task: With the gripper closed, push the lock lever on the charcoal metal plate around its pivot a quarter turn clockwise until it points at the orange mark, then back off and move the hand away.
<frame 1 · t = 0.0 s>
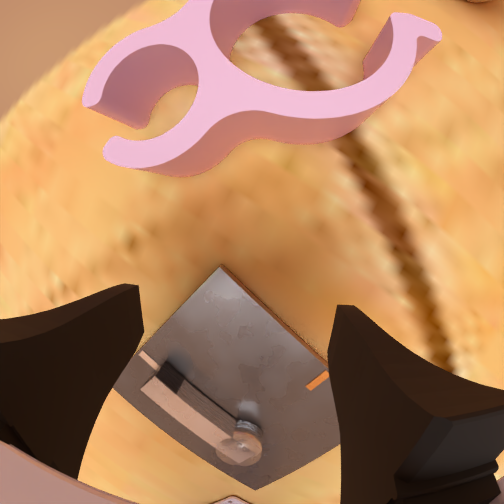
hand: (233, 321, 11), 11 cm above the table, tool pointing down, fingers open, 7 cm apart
lock lever: (206, 419, 21), point 2 cm above the table, hinge at 0.0°
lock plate: (241, 402, 23), on the table
clip: (264, 79, 19), on the table
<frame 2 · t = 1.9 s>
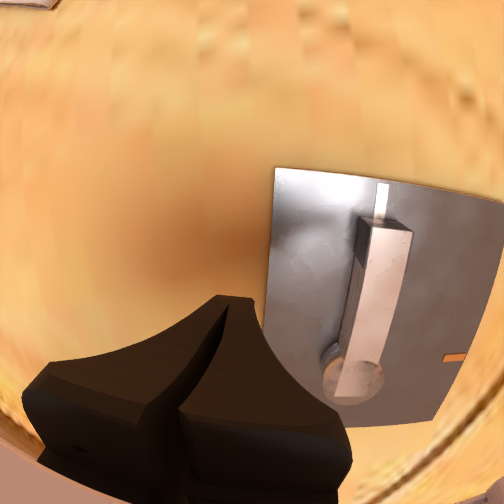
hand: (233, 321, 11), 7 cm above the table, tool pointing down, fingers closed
lock lever: (365, 322, 15), point 2 cm above the table, hinge at 0.0°
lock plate: (381, 326, 18), on the table
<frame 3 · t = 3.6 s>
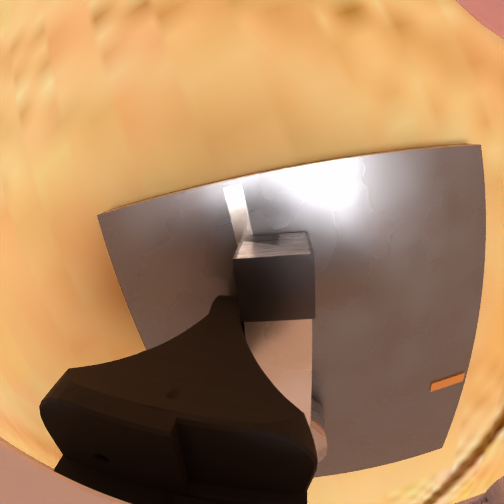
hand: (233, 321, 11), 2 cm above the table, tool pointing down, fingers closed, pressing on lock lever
lock lever: (283, 380, 11), point 2 cm above the table, hinge at -6.8°, touching gripper
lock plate: (322, 367, 13), on the table
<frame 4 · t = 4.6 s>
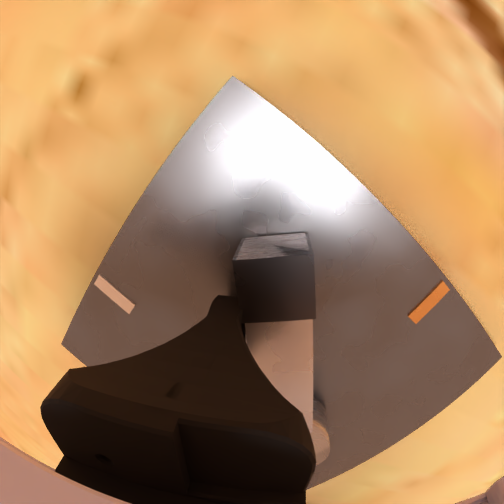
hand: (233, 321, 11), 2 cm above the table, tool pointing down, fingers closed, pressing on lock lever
lock lever: (285, 380, 11), point 2 cm above the table, hinge at -44.1°, touching gripper
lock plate: (287, 360, 13), on the table
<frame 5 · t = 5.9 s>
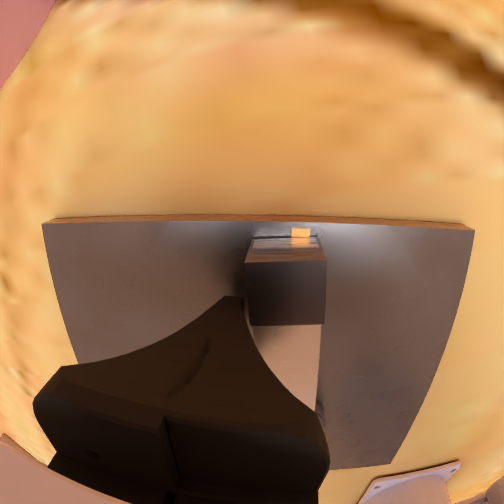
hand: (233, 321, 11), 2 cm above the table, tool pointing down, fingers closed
lock lever: (287, 383, 11), point 2 cm above the table, hinge at -86.8°, touching gripper
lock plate: (247, 374, 14), on the table
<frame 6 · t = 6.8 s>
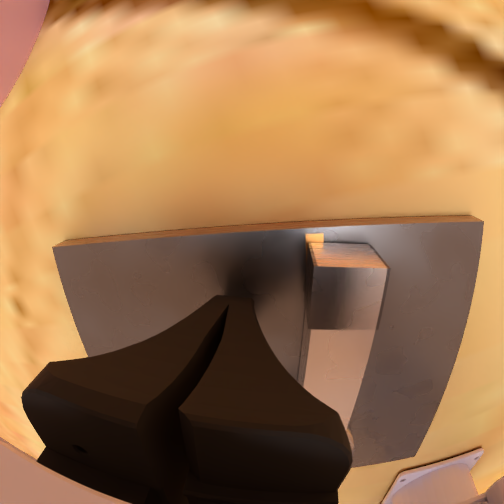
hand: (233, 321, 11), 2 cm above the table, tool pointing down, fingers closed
lock lever: (325, 386, 11), point 2 cm above the table, hinge at -95.5°
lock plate: (270, 380, 14), on the table
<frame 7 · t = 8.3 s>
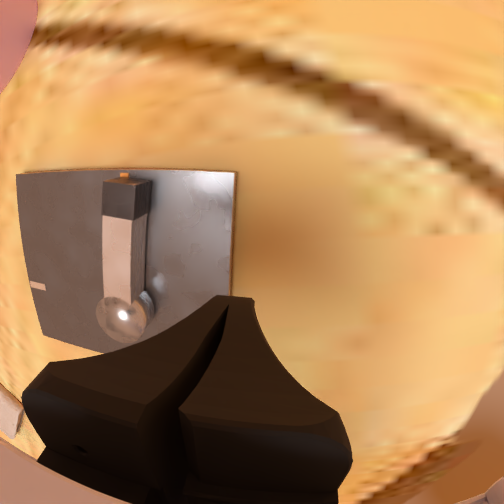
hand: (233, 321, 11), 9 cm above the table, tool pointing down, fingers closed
lock lever: (124, 265, 18), point 2 cm above the table, hinge at -95.6°
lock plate: (112, 270, 21), on the table
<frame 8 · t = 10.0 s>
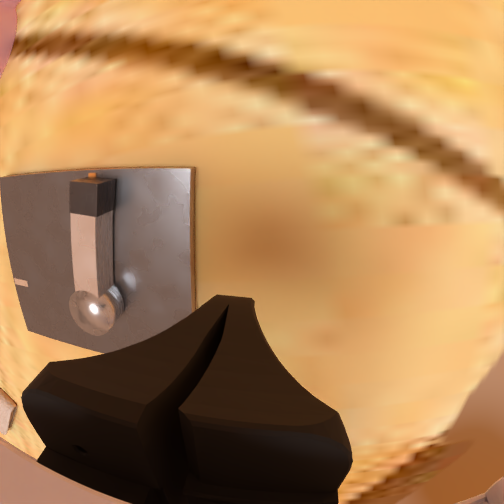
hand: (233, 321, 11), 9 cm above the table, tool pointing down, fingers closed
lock lever: (92, 260, 19), point 2 cm above the table, hinge at -95.6°
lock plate: (86, 266, 21), on the table
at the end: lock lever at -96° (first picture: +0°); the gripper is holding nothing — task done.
